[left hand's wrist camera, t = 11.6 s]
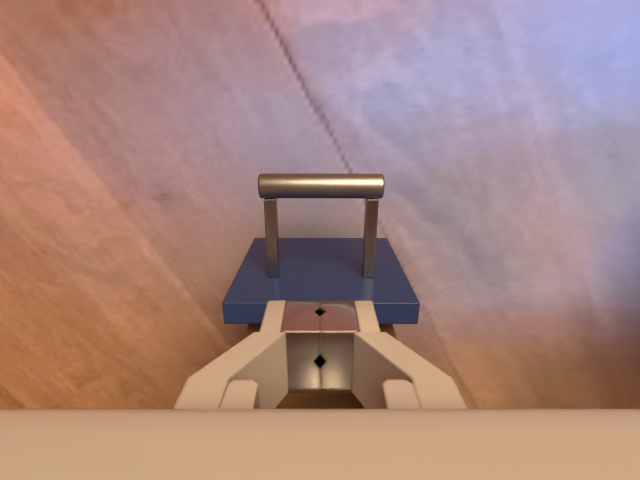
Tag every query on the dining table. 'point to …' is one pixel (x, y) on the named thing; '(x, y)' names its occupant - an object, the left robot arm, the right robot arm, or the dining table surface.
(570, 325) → the dining table surface
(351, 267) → the drawer
